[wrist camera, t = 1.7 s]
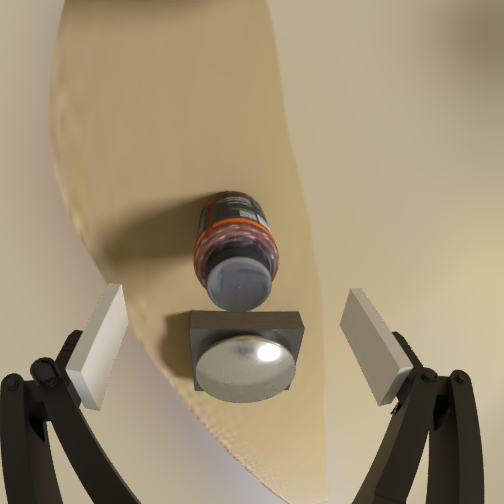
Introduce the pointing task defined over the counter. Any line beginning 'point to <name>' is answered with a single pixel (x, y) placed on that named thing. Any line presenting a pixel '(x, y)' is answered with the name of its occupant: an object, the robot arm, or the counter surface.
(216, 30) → the counter surface
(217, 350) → the kitchen scale
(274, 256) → the supplement bottle
